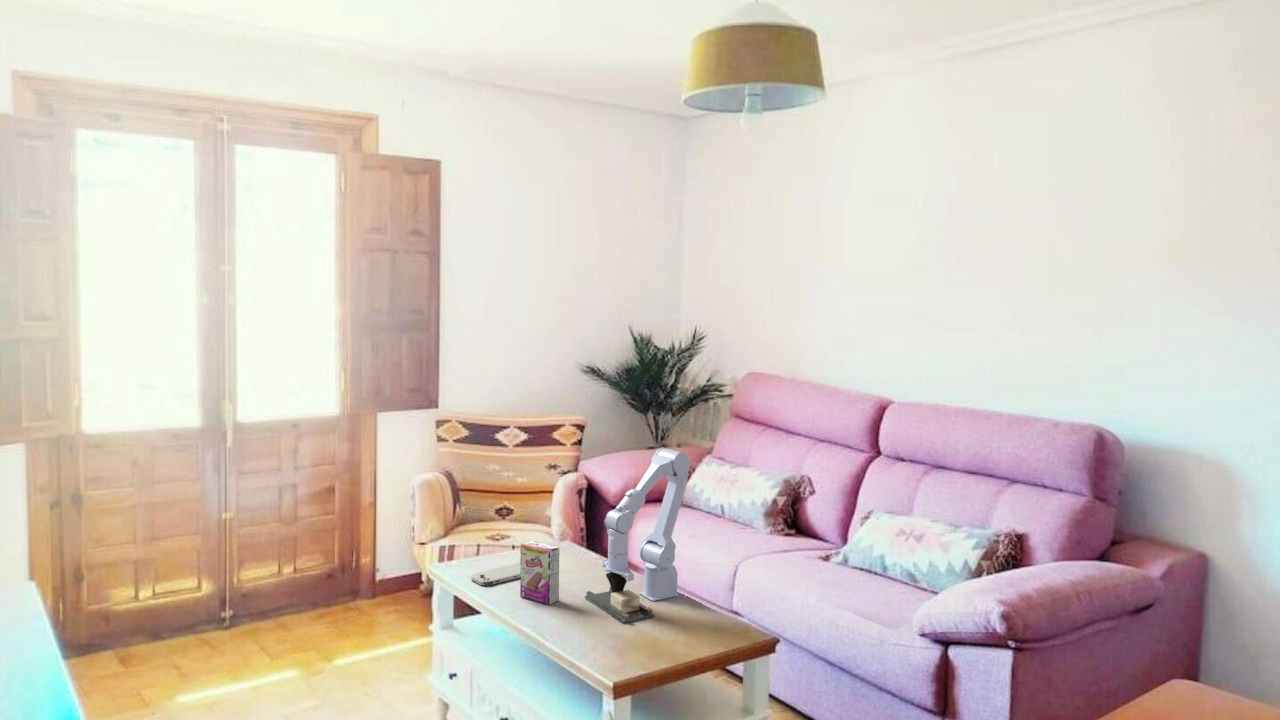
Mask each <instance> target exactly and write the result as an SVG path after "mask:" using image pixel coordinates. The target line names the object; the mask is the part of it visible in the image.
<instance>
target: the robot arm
mask: <svg viewBox="0 0 1280 720" xmlns="http://www.w3.org/2000/svg"><path fill="white" fill-rule="evenodd" d="M691 464H692V461H691V460H690V457H689V455H688V454H687V453H686V452H683V451H678V450H673V449H670V448H666V447H659V448H658V449H657V450H656V451H655V453H654V455H653V456H651V464H650V465H649V467H648V469H647V470H646V472H645V474H644V475H643V477H642V478H641V480H640V481H639V482H638V484H637V486H636V487H635V488H633V489H632V488H631V489H629V490H628V491H626V492H625V496H624V497H623V498H622V499H621V501H620V502H619V503H618V505H616V507H615V508H614V509H612V510H610V511H608V512H607V514H606V516H605V519H604V520H603V523H604V526H605V527H606V533H607V534H608V535H607V536H608V540H607V541H608V542H607V543H608V544H607V546H608V547H607V559H603V560H602V567H603V568H604V571H605V572H606V574H605V576H606V578H607V580H608V583H609V585H610V586H609V587H611V590H612V593H614V592H619V591H624V590H625V587H626V586H625V585H626V584H627V582H631V581H634V578H635V573H634V572H632V570H631V569H630V567H629V563H628V562H629V531H630V530H632V528H633V526H634V520H635V518H636V515H637V514H638V512H639V511H640V509H642V507H643V506H644V505H645V502H646V495H648V493H649V492H650V490H651V489H652V488H653V487H654V486H655V485H656V484H657V483H658V482H659V480H660V479H661V478H663V477H666V479H667V485H666V488H665V493H664V496H663V499H662V503H661V505H660V509H659V513H658V516H657V520H656V522H655V527H654V530H653V532H651V533H650V534H648V535H647V536H646V537H645V540H644V542H643V543H642V545H641V546H640V550H639V556H640V559H641V560H642V562H643V565H644V590H640V591H638V595H639V594H640V595H641V596H643V597H645V598H646V599H648V600H650V601H652V602H655V601H659V600H666V599H670V598H675V597H678V596H679V593H678V570H677V568H676V566H675V565H674V562H675V558H676V555H675V553H676V547H677V546H676V543H675V541H674V539H673V538H672V536H673V532H674V529H675V525H676V522H677V520H678V519H677V518H678V515H679V512H680V508H681V504H682V501H683V498H684V495H685V490H686V487H687V483H688V478H689V477H688V473H689V471H690V468H691V466H692V465H691Z"/></svg>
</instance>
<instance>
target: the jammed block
mask: <svg viewBox="0 0 1280 720" xmlns="http://www.w3.org/2000/svg"><path fill="white" fill-rule="evenodd" d="M639 603H640V595H639V594H638V593H635V592H633V590H632V591H631V590H630V589H626V590H625V589H624V590H623V591H619V592H614V593H611V602H610V604H611V605H613V606H614V607H616V608H617V609H619V610H620V611H622V612H623V613H624V612H625V613H627V612H631V611H636V610H639Z"/></svg>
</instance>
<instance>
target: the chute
mask: <svg viewBox="0 0 1280 720" xmlns="http://www.w3.org/2000/svg"><path fill="white" fill-rule="evenodd" d="M608 590H609V591H604V592H598V593H594V592H592V591H591V590H589V591H586V595H585V596H584V599H585V600H587V602H590V603H591V604H592V605H593V606H595V607H596V608H599V609H600V610H602V611H603V612H604V611H605V612H604V613H606V614H607V615H609V616H611V617H612V618H614V620H616V621H618V622H620V623H621V624H622V625H623V624H628V623H633V622H637V621H643V620H647V618H648V619H651V618H654V617H655V614H654V613H653V609H652V608H651V607H647V606H646V605H644V604H642V603H640V602H639V610H636V611H631V612H627V613H625V612H624V613H623V612H622V611H620V610H619V609H617V608H616V607H614V606H613V605H611V604H610V602H611V593H612V590H611V586H609V589H608Z"/></svg>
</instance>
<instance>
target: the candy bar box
mask: <svg viewBox="0 0 1280 720" xmlns="http://www.w3.org/2000/svg"><path fill="white" fill-rule="evenodd" d="M520 562H521V575H520V576H521V578H520V585H519V586H520V593H519V594H520V596H519V597H520V598H522V599H526V600H530V601H532V602H537V603H541V604H544V605H546V606H547V605H548V606H550V604H551V605H553V604H555V603H556V601H557V602H558V601H559V600H560V597H559V596H560V547H559V546H555V545H552V544H546V543H542V542H539V541H534V540H528V541H525V542H522V543H521V544H520ZM554 602H555V603H554ZM552 603H553V604H552Z"/></svg>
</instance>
